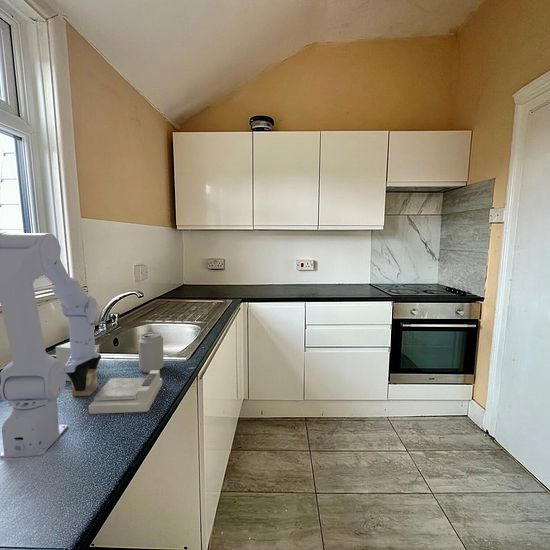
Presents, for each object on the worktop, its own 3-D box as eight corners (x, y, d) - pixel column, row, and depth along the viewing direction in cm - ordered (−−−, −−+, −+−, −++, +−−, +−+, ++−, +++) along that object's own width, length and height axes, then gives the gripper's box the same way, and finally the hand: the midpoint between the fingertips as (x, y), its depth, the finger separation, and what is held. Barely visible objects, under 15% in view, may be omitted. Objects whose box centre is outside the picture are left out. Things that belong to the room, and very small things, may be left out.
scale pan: (135, 399, 78) (135, 395, 78) (94, 400, 77) (94, 396, 76) (147, 380, 88) (147, 377, 88) (111, 381, 86) (110, 378, 86)
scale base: (147, 411, 76) (147, 391, 76) (88, 413, 75) (87, 393, 74) (162, 384, 90) (161, 367, 90) (112, 386, 89) (111, 368, 88)
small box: (72, 382, 91) (70, 348, 89) (56, 380, 92) (54, 346, 90) (93, 370, 98) (91, 339, 97) (78, 369, 99) (77, 338, 98)
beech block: (89, 395, 83) (88, 376, 82) (72, 395, 82) (71, 376, 82) (97, 387, 87) (96, 369, 87) (80, 387, 87) (79, 369, 86)
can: (136, 368, 101) (135, 333, 99) (159, 362, 106) (158, 329, 104) (143, 376, 95) (142, 339, 94) (167, 370, 100) (166, 335, 99)
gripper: (84, 348, 76) (87, 399, 78) (109, 330, 91) (111, 373, 92) (54, 348, 76) (57, 400, 77) (83, 331, 90) (86, 374, 92)
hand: (85, 385), depth 85 cm, fingers closed on beech block, 4 cm apart
